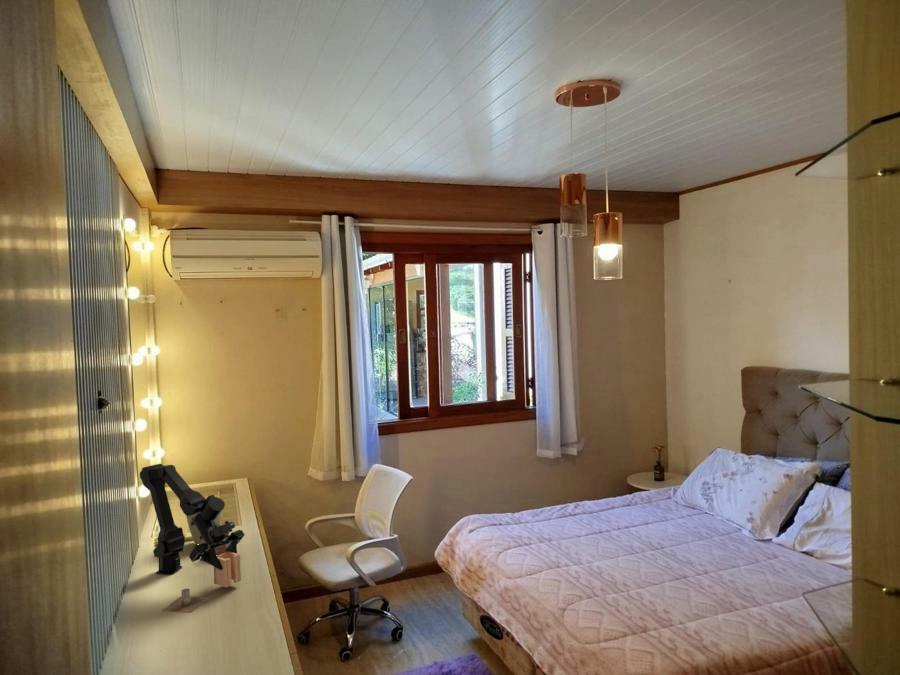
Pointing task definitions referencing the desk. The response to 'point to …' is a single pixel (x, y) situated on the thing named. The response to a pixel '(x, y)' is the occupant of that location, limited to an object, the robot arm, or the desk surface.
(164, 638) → the desk surface
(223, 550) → the perfume bottle
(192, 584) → the desk surface
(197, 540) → the plant pot
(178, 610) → the stand
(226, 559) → the c link
